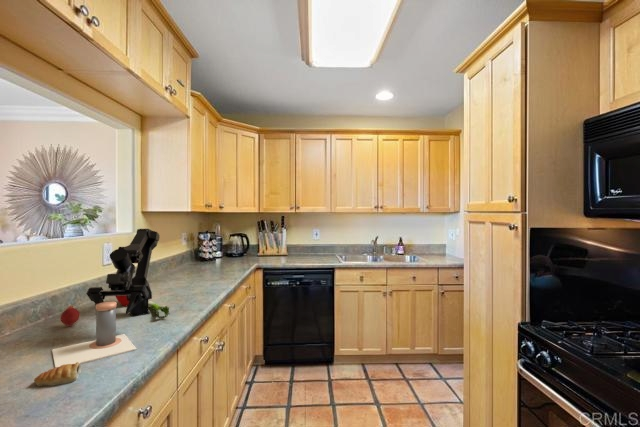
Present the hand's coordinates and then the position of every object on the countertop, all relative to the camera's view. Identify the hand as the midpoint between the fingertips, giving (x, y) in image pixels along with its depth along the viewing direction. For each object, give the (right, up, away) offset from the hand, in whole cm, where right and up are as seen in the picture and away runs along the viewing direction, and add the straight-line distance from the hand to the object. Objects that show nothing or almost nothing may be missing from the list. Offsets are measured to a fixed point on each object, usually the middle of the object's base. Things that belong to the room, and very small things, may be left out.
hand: (111, 314), depth 111 cm
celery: (-1, -9, +30) cm, 32 cm away
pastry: (+5, -9, -27) cm, 29 cm away
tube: (+1, -8, -5) cm, 9 cm away
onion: (-24, -8, +12) cm, 28 cm away
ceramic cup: (-21, -9, +44) cm, 49 cm away
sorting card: (+1, -8, -9) cm, 13 cm away
